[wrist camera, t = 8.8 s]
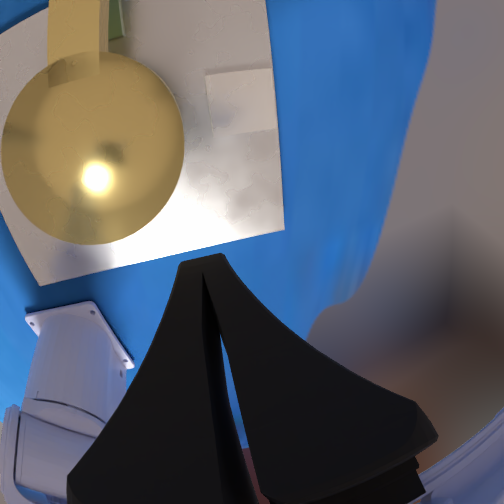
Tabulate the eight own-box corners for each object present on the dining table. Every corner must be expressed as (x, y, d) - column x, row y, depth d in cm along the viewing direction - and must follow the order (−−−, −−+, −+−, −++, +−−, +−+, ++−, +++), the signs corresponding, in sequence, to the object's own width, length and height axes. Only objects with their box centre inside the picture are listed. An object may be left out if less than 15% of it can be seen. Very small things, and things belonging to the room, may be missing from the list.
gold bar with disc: (187, 192, 16) (192, 232, 13) (57, 212, 15) (30, 255, 11) (184, -50, 8) (189, -87, 4) (36, -16, 6) (-1, -33, 3)
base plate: (279, 222, 21) (301, 255, 18) (43, 278, 18) (28, 316, 15) (255, -34, 10) (277, -59, 7) (-30, 61, 8) (-67, 67, 4)
